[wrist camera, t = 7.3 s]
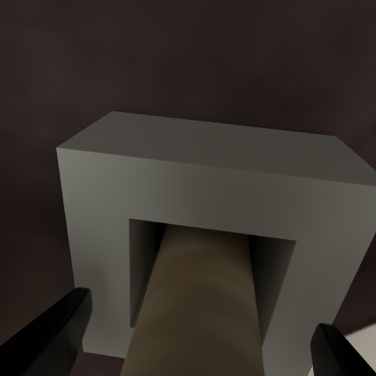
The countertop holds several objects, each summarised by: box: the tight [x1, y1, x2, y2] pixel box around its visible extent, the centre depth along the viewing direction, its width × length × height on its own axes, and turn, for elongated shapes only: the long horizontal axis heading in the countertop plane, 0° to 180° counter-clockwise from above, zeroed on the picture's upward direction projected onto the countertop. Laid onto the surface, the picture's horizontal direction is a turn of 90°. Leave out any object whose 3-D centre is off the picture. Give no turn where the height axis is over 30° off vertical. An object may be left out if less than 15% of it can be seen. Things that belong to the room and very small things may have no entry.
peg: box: [120, 223, 265, 376], centre depth 10 cm, size 4×4×9 cm
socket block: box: [56, 111, 376, 376], centre depth 12 cm, size 9×9×4 cm
